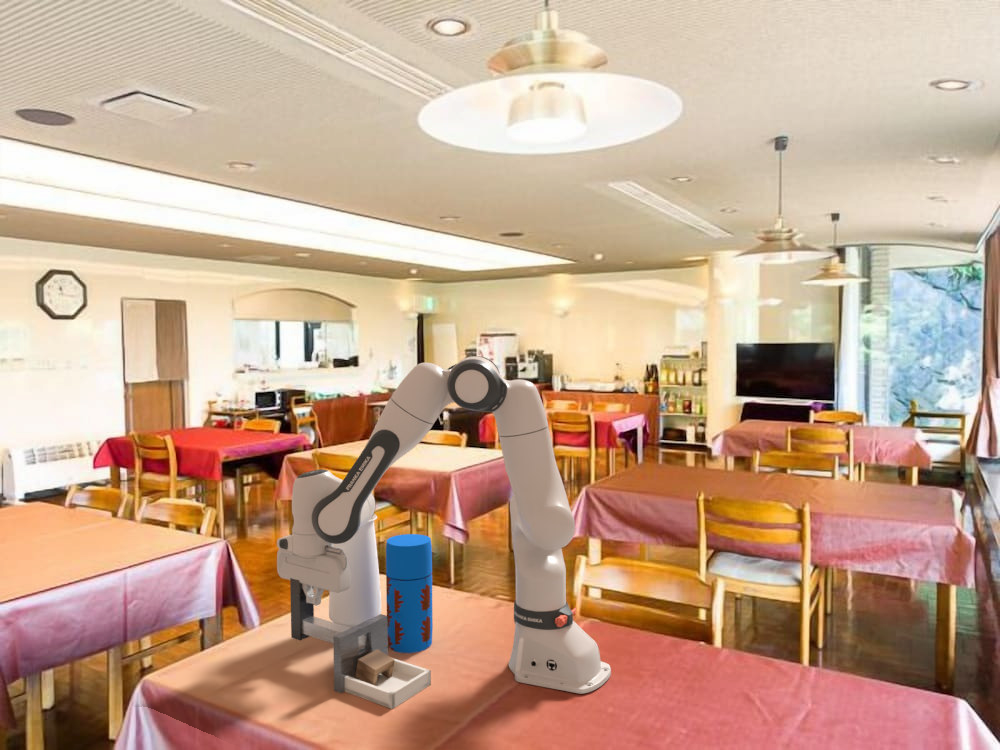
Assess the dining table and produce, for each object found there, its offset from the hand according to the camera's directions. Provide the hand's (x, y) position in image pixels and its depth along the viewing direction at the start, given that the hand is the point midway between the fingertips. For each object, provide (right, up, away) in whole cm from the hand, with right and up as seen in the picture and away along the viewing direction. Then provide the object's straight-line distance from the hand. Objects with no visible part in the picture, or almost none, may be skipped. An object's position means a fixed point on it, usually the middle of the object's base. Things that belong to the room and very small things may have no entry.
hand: (313, 603), depth 158 cm
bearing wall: (+12, -14, -7) cm, 20 cm away
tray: (+18, -14, -11) cm, 26 cm away
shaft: (+4, -8, -2) cm, 9 cm away
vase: (+5, -13, +20) cm, 24 cm away
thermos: (+20, -13, +10) cm, 26 cm away
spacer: (+15, -12, -9) cm, 22 cm away
